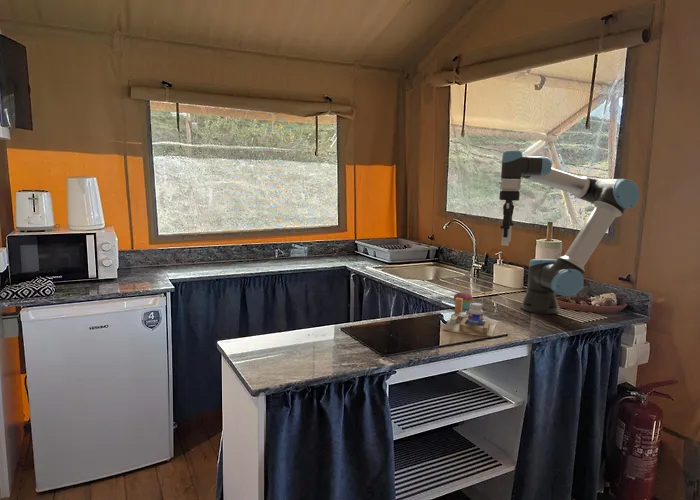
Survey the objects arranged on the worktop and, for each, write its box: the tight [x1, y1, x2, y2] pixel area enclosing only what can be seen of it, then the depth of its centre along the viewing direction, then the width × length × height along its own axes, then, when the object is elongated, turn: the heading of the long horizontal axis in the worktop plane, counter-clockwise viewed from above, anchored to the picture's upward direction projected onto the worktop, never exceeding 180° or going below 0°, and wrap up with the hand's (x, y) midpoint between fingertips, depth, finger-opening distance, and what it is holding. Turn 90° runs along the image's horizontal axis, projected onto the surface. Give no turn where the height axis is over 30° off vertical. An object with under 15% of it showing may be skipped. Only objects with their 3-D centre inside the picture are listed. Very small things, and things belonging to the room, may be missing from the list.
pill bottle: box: [467, 302, 484, 326], centre depth 183 cm, size 5×5×10 cm
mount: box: [442, 313, 497, 338], centre depth 186 cm, size 18×16×3 cm
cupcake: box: [453, 282, 474, 310], centre depth 214 cm, size 9×8×12 cm
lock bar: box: [449, 298, 463, 324], centre depth 187 cm, size 2×14×6 cm, turn 159°
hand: (505, 243), depth 193 cm, fingers open, 13 cm apart
